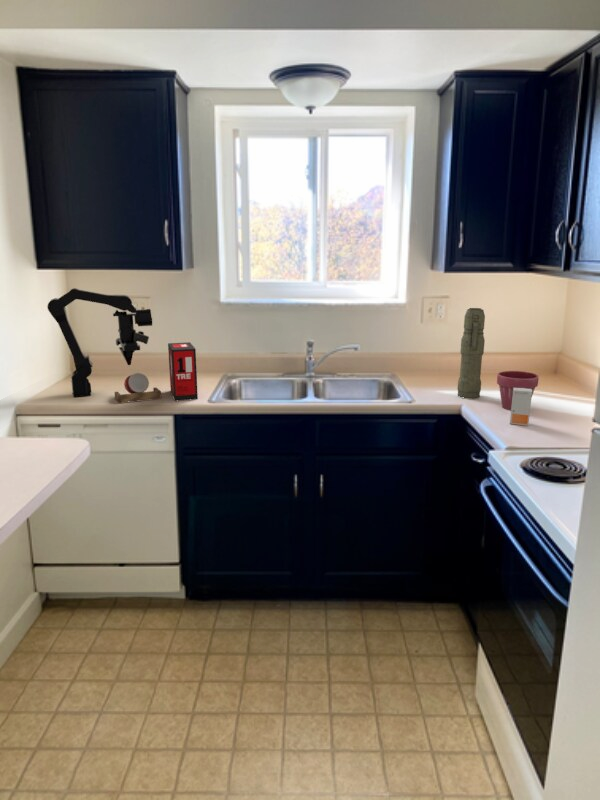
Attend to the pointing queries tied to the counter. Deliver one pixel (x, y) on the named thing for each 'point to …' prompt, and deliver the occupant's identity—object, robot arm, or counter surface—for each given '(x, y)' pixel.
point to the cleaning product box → (183, 371)
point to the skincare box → (521, 406)
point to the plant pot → (514, 384)
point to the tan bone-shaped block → (138, 396)
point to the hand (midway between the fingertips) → (129, 365)
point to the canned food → (136, 383)
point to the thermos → (471, 354)
